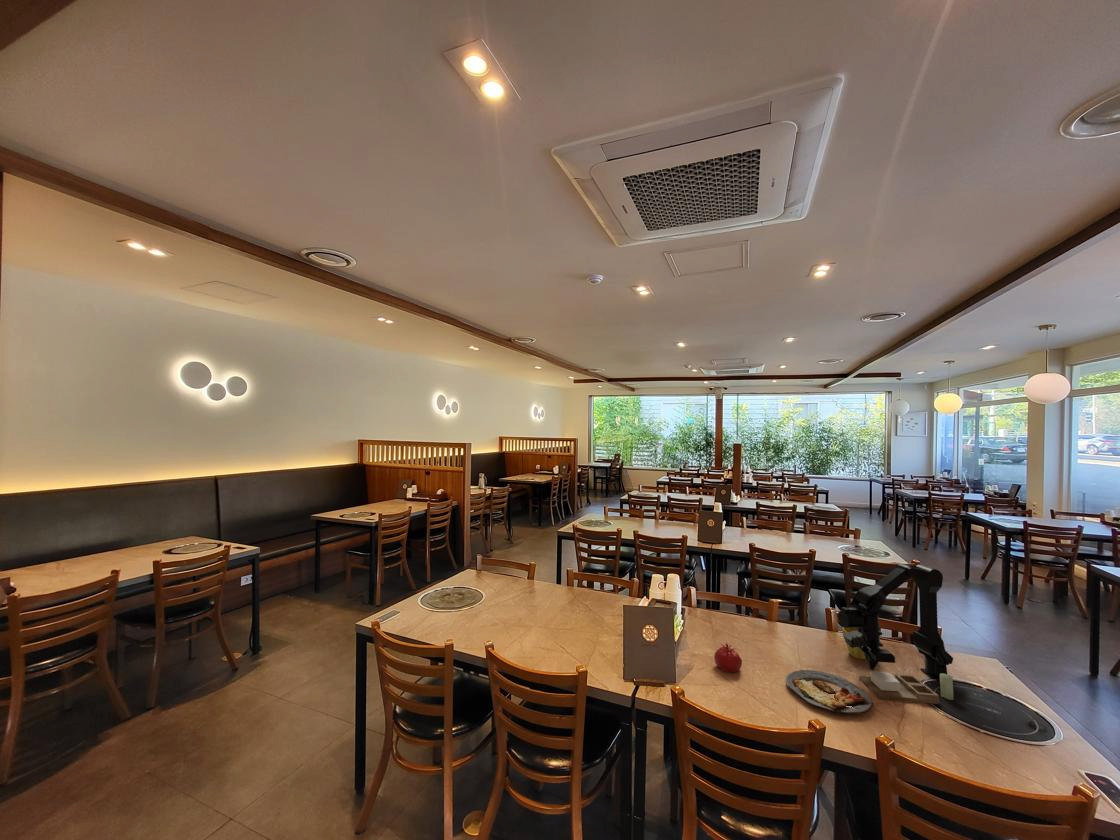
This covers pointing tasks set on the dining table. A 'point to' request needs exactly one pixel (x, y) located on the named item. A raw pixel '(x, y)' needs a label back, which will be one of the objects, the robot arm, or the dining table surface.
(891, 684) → the cover
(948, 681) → the peg
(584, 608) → the dining table surface
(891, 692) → the board
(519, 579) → the dining table surface
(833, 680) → the food plate
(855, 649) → the plant pot
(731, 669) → the pomegranate
